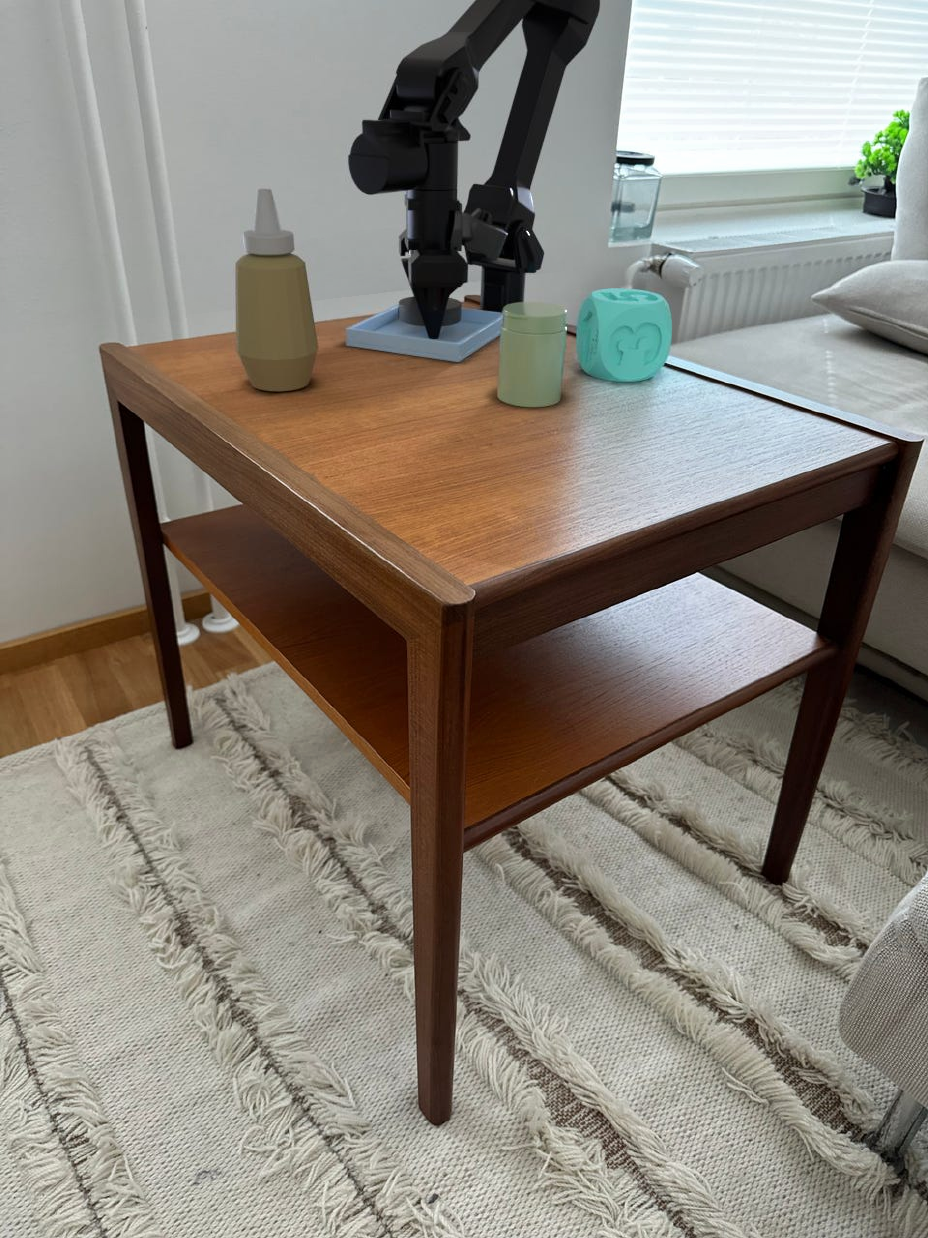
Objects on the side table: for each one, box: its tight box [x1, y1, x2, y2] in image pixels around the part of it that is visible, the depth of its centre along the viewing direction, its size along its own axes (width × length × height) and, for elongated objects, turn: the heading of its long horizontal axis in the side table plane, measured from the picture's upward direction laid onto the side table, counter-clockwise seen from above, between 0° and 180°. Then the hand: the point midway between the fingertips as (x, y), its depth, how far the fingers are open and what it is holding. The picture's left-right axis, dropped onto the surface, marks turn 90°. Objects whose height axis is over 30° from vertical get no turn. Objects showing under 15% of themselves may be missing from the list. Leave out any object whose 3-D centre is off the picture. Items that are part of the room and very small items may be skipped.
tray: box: [345, 303, 503, 363], centre depth 107 cm, size 16×14×2 cm
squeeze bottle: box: [234, 188, 319, 392], centre depth 86 cm, size 8×8×18 cm
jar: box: [496, 301, 568, 408], centre depth 88 cm, size 6×6×9 cm
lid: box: [398, 295, 463, 326], centre depth 106 cm, size 8×8×2 cm
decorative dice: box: [575, 287, 673, 383], centre depth 96 cm, size 8×8×8 cm
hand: (430, 330), depth 108 cm, fingers closed on lid, 7 cm apart
